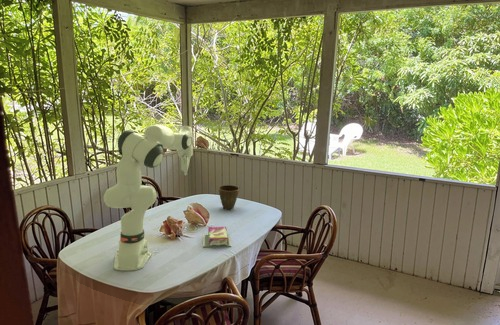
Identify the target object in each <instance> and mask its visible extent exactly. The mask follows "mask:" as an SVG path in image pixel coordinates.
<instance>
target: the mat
mask: <svg viewBox="0 0 500 325" xmlns="http://www.w3.org/2000/svg"><path fill="white" fill-rule="evenodd" d="M227 234H228V245H214V246H209V237H208V234H202V235H203V236H202V237H203V238H202V239H203V240H202V247H203V248H231V247H232V243H231V237H230V234H229V233H227Z"/></svg>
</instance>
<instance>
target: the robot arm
mask: <svg viewBox="0 0 500 325" xmlns="http://www.w3.org/2000/svg"><path fill="white" fill-rule="evenodd" d="M143 135H144V136H143ZM143 135H141V134H140V133H138V132H136V131H135V130H131V129H126V130H124V131H123V132H122V133H121V134H120V135H119V136H118V139H117V149H118V153H119V155H120V156H122V157H121V159H119V161H118V162H117V166H116V184H114V185H113V186H111V187H110V188H107V189H106V190H105V192H104V194H103V202H104V204H105V205H106V207H108V208H112V209H113V208H114V209H123V208H124V209H125V208H132V209H131V210H130V211H128V212H126V213H125V214H123V216H121V218H120V235H119V236H120V238H119V241H118V250H117V252H116V253H115V254H114V263H113V269H114V270H115V271H123V272H124V271H137V270H140V269H143V268H144V266H145V265H146V263H148V261H149V260H150V258H151V257H152V252H150V251H149V246H148V244H149V243H148V240H147V239H146V238H145V229H144V219H145V218H144V217H145V214H146V212H147V210H148V209H149V208H150V207H151V206H152V205H154V204H155V202H156V200H157V198H158V197H157V196H158V193H157V191H156V189H155V187H154V186H151V185H144V184H142V182H143V181H142V169H141V164H143V166H145V167H147V168H150V169H155V168H156V167H158V166H159V165H160V164H161V162H162V160H163V158H164V155H165V154H164V150H177V156H178V157H179V159H181V160H180V161H181V162H180V165H181V167H180V168H181V172H183V176H188V171H189V165H190V160H191V157H193V155H194V152H193V151H194V147H193V141H194V139H193V138H194V137H193V136H194V135H193V129H192V127H191V126H190V125H179V126H178V128H177V132H173V130H172V128H170V127H168V126H165V125H163V124H151V125H149V126H147V127H146V128H145V130H144V134H143Z"/></svg>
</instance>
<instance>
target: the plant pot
mask: <svg viewBox="0 0 500 325" xmlns="http://www.w3.org/2000/svg"><path fill="white" fill-rule="evenodd" d="M239 190H240V188H239V186H236V185H230V184H225V185H220V186H219V187H218V192H219V198H220V202H221V205H222V208H223V210H225V209H226V211H231V209H232V210H234V208H235V205H236V203H237V199H238V196H239Z"/></svg>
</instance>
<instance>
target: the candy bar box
mask: <svg viewBox="0 0 500 325" xmlns="http://www.w3.org/2000/svg"><path fill="white" fill-rule="evenodd" d="M207 230H208V232H207V235H208V237H209V246H214V245H228V234H229V233H228V231H227V226H208V229H207Z"/></svg>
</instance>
